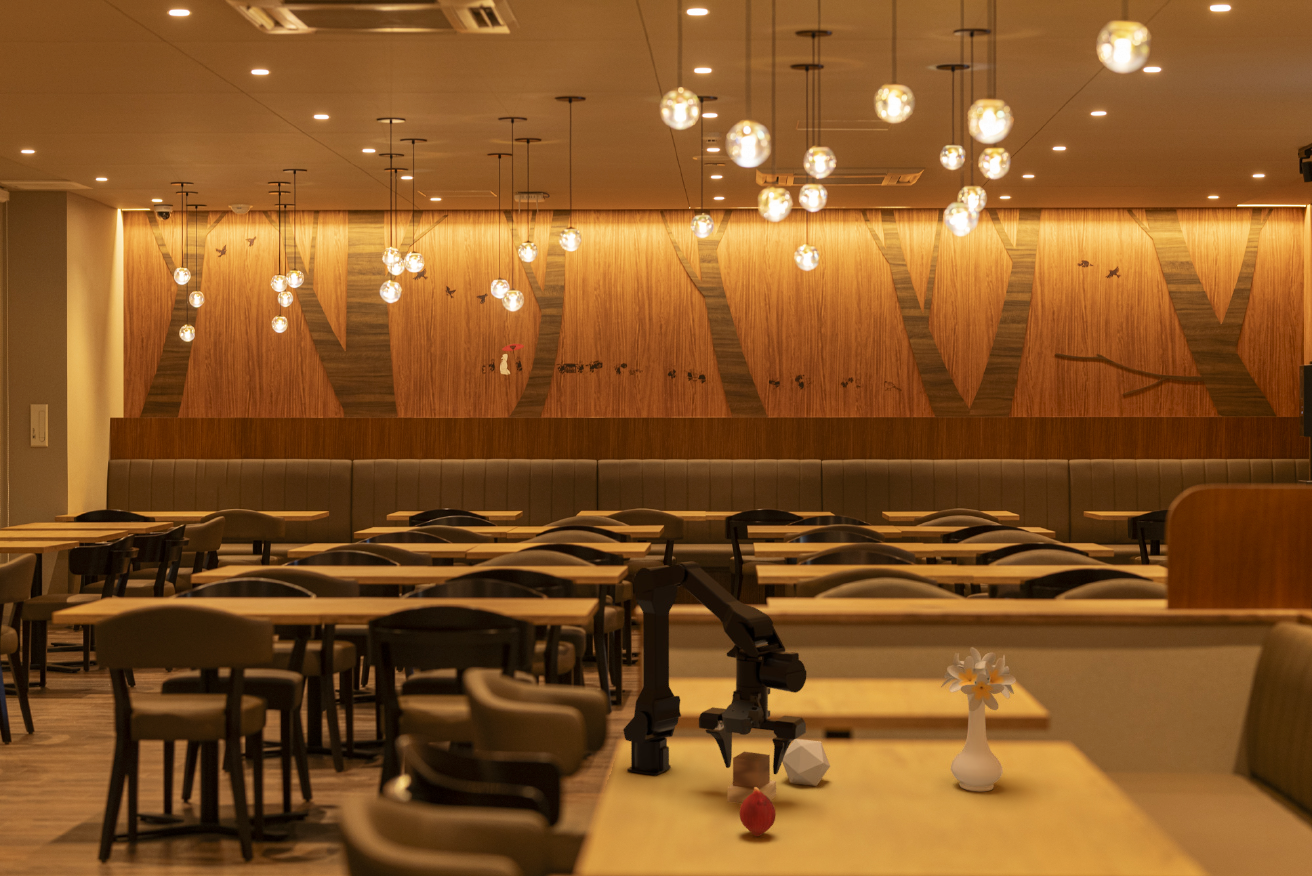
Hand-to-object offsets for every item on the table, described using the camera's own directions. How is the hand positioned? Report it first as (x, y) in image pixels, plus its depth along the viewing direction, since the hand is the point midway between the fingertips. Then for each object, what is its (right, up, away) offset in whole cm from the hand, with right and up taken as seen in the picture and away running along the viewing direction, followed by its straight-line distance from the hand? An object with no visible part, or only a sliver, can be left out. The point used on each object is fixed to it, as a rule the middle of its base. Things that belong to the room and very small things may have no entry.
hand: (751, 770), depth 232 cm
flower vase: (+43, -5, +6) cm, 43 cm away
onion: (-1, -6, -21) cm, 22 cm away
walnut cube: (0, -2, 0) cm, 2 cm away
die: (+11, -5, +10) cm, 16 cm away
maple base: (0, -5, 0) cm, 5 cm away
